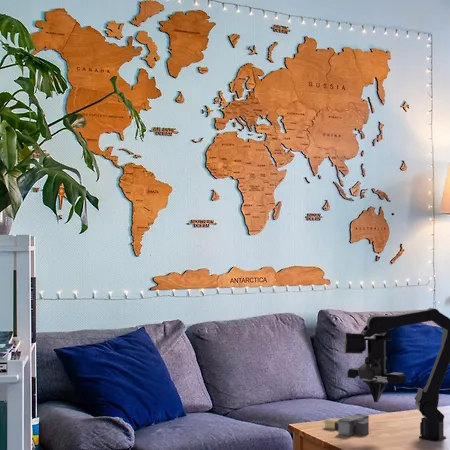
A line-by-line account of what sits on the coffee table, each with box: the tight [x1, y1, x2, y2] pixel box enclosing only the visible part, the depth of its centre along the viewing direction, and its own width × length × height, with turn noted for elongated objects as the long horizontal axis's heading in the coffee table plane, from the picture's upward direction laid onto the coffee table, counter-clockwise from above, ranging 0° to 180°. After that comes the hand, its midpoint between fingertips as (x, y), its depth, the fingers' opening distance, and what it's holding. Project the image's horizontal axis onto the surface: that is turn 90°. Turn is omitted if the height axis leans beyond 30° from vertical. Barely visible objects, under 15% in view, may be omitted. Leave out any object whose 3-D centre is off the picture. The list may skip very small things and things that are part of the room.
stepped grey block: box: [335, 421, 370, 436], centre depth 243 cm, size 11×3×4 cm, turn 47°
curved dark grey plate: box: [337, 413, 370, 437], centre depth 242 cm, size 4×12×5 cm, turn 137°
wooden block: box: [323, 417, 339, 431], centre depth 248 cm, size 5×4×3 cm
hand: (376, 402), depth 237 cm, fingers closed
